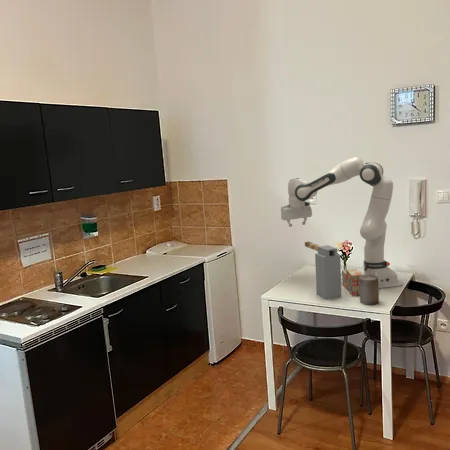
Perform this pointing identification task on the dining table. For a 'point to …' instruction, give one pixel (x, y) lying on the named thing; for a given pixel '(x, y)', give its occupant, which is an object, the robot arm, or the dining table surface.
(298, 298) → the dining table surface
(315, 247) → the oak bar
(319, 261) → the slate-grey stand
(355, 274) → the stack of blocks
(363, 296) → the pillar candle
